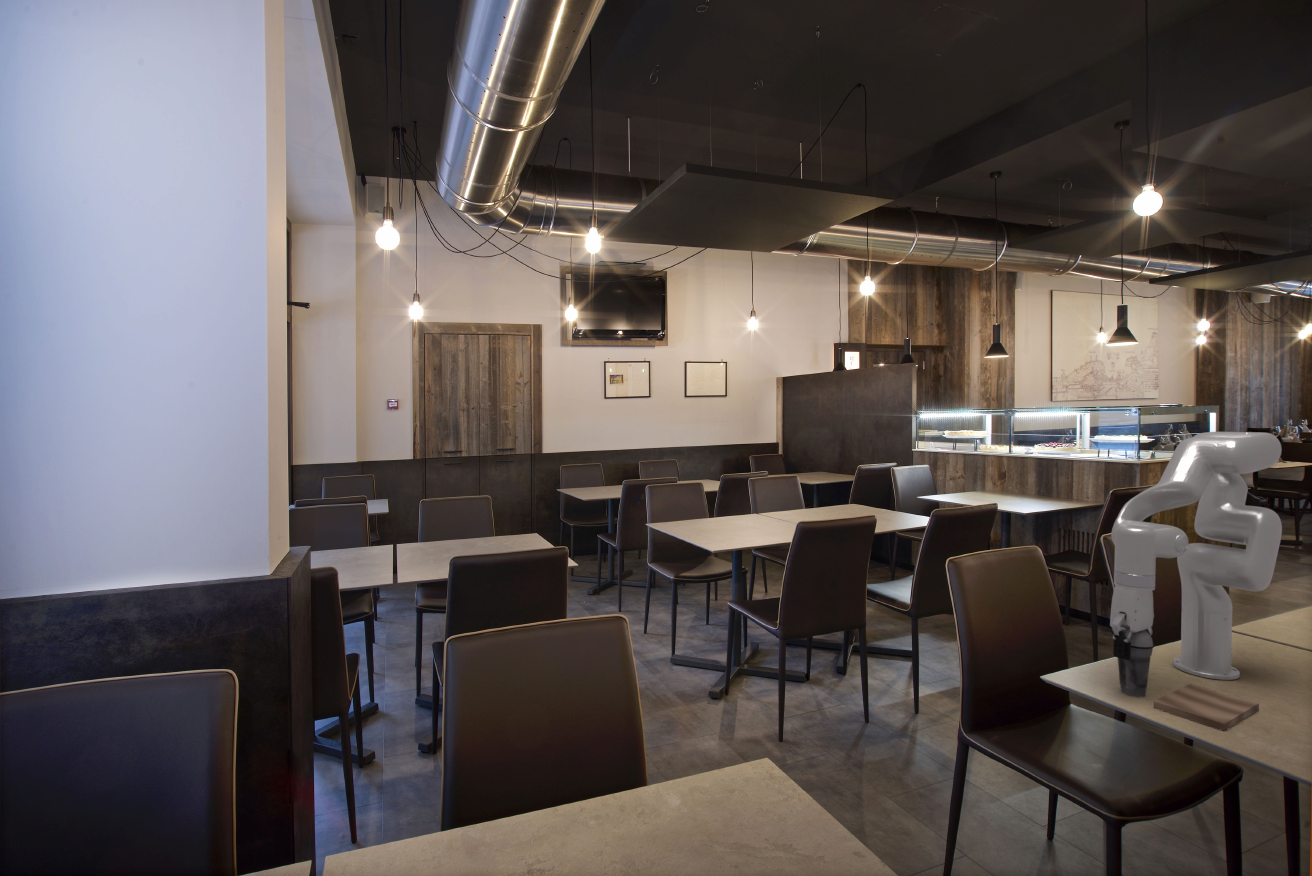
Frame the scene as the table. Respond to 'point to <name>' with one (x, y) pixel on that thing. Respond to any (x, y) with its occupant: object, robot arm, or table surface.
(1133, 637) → the beverage cup
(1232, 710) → the serving board
